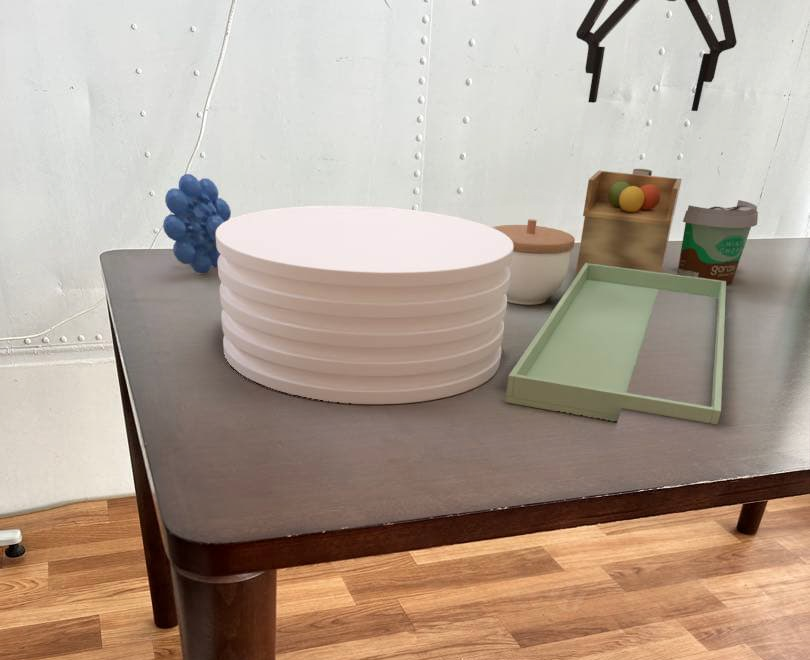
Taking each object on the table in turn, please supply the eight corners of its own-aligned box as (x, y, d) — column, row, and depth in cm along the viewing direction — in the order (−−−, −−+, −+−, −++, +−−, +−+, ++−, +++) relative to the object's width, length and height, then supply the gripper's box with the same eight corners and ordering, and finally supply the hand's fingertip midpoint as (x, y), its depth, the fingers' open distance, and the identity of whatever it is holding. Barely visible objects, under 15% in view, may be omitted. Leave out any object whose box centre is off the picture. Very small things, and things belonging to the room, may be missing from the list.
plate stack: (556, 378, 80) (575, 257, 73) (289, 425, 67) (285, 285, 61) (413, 300, 100) (419, 200, 94) (188, 325, 88) (177, 212, 81)
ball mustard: (642, 211, 109) (647, 185, 108) (640, 215, 107) (645, 189, 105) (618, 208, 110) (623, 183, 108) (615, 212, 108) (620, 186, 106)
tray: (721, 301, 107) (726, 281, 105) (713, 439, 69) (721, 411, 68) (582, 282, 111) (585, 262, 110) (504, 402, 74) (508, 375, 73)
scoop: (676, 206, 117) (684, 173, 115) (669, 226, 105) (677, 188, 102) (598, 198, 120) (604, 165, 118) (582, 216, 108) (588, 179, 105)
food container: (706, 292, 110) (725, 214, 105) (669, 281, 114) (686, 205, 109) (759, 282, 116) (780, 207, 111) (722, 271, 120) (741, 199, 115)
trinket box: (517, 315, 97) (527, 232, 92) (463, 291, 104) (470, 214, 99) (582, 304, 102) (596, 225, 97) (526, 282, 109) (536, 208, 104)
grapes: (198, 289, 99) (189, 183, 93) (156, 279, 102) (145, 175, 95) (258, 270, 108) (253, 172, 102) (218, 261, 111) (211, 165, 104)
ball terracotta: (657, 209, 111) (663, 184, 110) (656, 213, 109) (661, 187, 107) (634, 206, 112) (638, 181, 110) (631, 210, 110) (636, 184, 108)
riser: (660, 277, 116) (673, 217, 112) (657, 287, 111) (670, 225, 107) (581, 266, 119) (591, 208, 114) (575, 276, 114) (584, 215, 109)
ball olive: (631, 206, 112) (635, 181, 111) (628, 210, 110) (633, 184, 108) (607, 203, 113) (612, 178, 111) (604, 207, 110) (609, 182, 109)
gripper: (571, -98, 99) (546, 100, 110) (789, -93, 93) (739, 116, 104) (581, -90, 105) (556, 97, 117) (786, -85, 99) (738, 112, 110)
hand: (642, 106), depth 110 cm, fingers open, 13 cm apart
